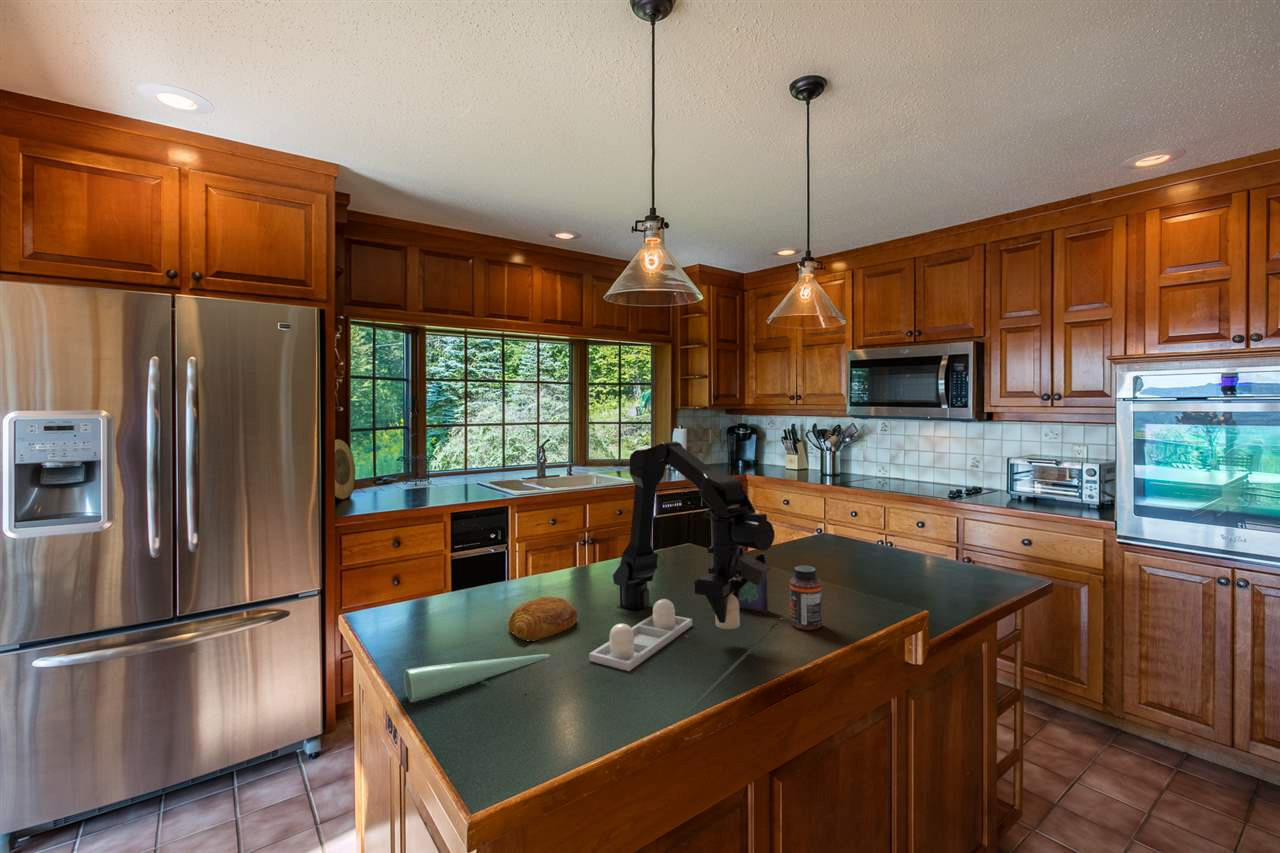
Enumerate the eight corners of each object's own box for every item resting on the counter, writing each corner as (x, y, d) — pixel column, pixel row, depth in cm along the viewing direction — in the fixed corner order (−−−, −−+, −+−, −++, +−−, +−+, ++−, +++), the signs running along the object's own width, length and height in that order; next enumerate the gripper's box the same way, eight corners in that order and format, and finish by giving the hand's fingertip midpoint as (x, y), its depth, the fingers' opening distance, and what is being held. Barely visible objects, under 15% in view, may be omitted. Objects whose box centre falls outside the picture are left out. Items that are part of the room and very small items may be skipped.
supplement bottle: (785, 620, 132) (784, 564, 131) (814, 619, 132) (814, 563, 132) (796, 632, 125) (795, 572, 124) (826, 630, 125) (826, 571, 125)
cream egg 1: (605, 658, 112) (604, 626, 112) (618, 649, 116) (618, 618, 116) (625, 664, 110) (624, 630, 110) (639, 654, 114) (638, 622, 114)
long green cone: (555, 636, 112) (411, 676, 97) (556, 664, 112) (412, 708, 97) (543, 628, 117) (403, 665, 101) (544, 655, 117) (404, 696, 101)
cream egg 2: (649, 630, 126) (648, 601, 126) (660, 623, 130) (659, 594, 130) (668, 634, 124) (667, 604, 124) (679, 626, 128) (678, 598, 128)
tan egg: (711, 626, 117) (711, 594, 117) (721, 618, 121) (720, 588, 121) (734, 630, 114) (733, 598, 114) (743, 622, 118) (742, 591, 118)
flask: (728, 609, 140) (727, 565, 140) (730, 605, 143) (729, 562, 142) (767, 613, 137) (766, 568, 137) (768, 609, 140) (767, 564, 139)
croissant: (588, 637, 131) (591, 601, 131) (531, 649, 120) (535, 609, 120) (548, 620, 141) (552, 587, 141) (492, 630, 130) (496, 593, 130)
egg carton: (589, 663, 112) (589, 653, 112) (656, 620, 133) (656, 612, 133) (629, 674, 107) (628, 663, 107) (692, 628, 129) (692, 619, 129)
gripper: (746, 556, 105) (747, 642, 106) (779, 536, 121) (781, 610, 121) (691, 550, 111) (692, 631, 111) (729, 531, 127) (731, 602, 127)
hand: (727, 618), depth 118 cm, fingers closed on tan egg, 5 cm apart
